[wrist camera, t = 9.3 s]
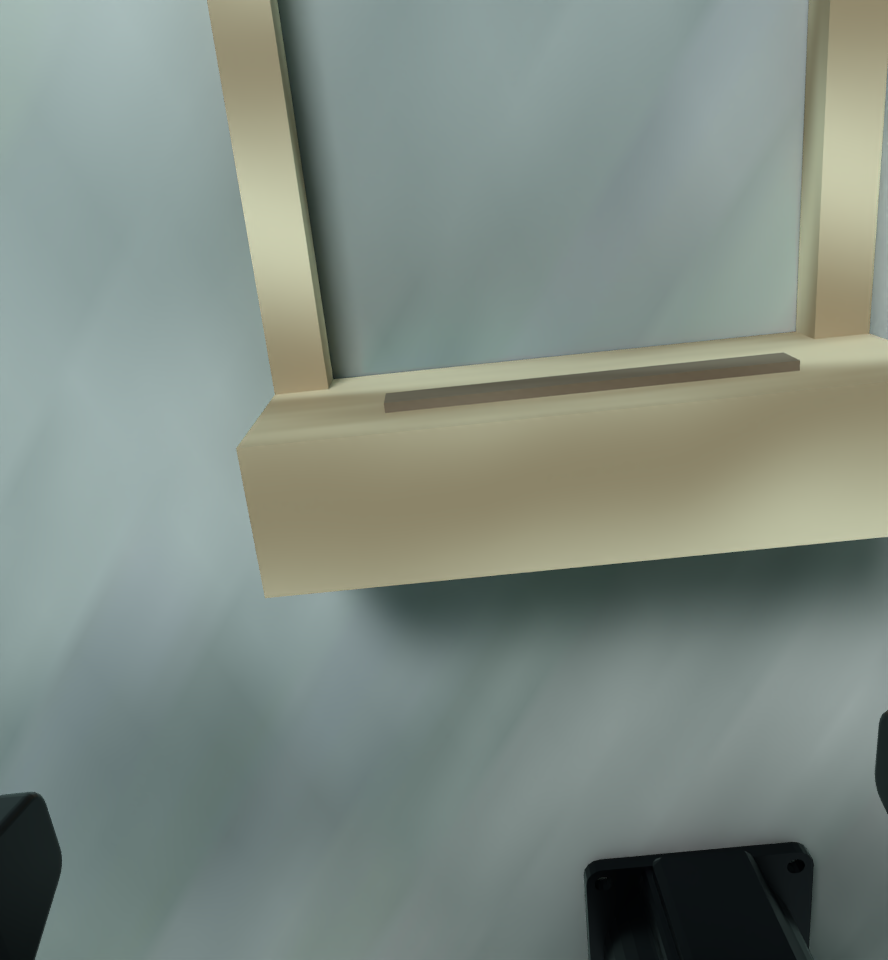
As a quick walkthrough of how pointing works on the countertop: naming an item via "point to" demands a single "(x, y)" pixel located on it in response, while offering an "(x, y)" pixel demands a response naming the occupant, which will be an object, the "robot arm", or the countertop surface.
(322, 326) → the open rectangular frame
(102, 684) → the countertop surface
